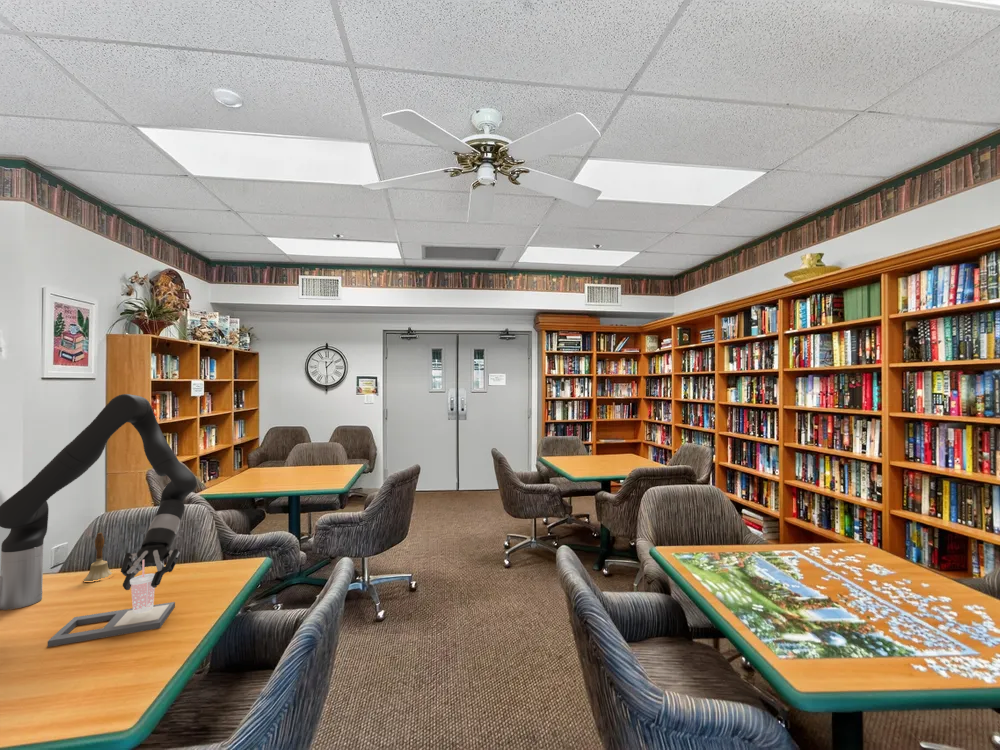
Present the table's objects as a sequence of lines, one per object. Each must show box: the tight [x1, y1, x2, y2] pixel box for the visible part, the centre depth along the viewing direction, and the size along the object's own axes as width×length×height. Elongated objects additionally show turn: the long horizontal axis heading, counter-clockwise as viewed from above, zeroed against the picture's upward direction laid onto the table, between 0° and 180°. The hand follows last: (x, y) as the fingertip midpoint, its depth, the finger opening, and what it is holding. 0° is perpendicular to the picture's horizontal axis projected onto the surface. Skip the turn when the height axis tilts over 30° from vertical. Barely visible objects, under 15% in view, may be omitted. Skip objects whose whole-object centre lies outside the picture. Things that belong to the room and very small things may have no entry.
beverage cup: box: [130, 559, 156, 613], centre depth 132 cm, size 6×6×14 cm
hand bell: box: [83, 532, 113, 581], centre depth 165 cm, size 8×8×16 cm
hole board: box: [47, 601, 176, 648], centre depth 129 cm, size 24×14×2 cm, turn 111°
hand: (140, 587), depth 130 cm, fingers closed on beverage cup, 6 cm apart
